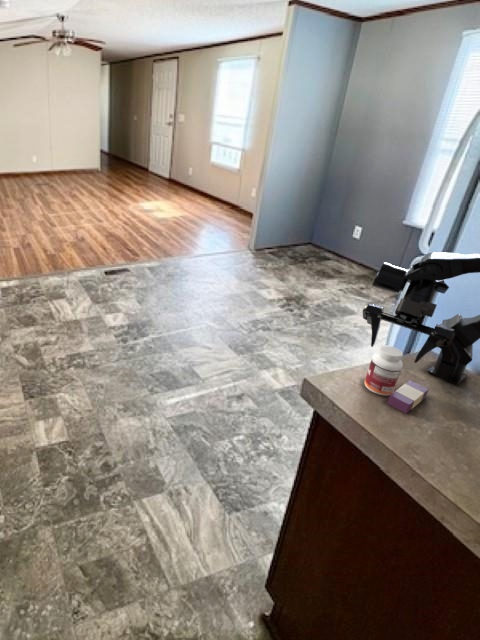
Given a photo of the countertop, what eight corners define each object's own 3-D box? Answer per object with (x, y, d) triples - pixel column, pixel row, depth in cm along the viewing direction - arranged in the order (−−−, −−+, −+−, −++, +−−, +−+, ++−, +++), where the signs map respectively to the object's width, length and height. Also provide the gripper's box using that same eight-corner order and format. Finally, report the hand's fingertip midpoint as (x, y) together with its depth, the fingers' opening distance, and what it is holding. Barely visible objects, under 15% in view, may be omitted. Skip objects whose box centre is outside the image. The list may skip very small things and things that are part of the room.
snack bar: (406, 388, 103) (409, 380, 102) (425, 397, 100) (428, 389, 99) (386, 403, 98) (390, 394, 97) (406, 413, 95) (409, 404, 94)
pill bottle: (369, 377, 107) (381, 340, 103) (397, 389, 103) (411, 351, 98) (359, 386, 104) (371, 349, 99) (387, 400, 99) (401, 361, 95)
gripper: (375, 274, 106) (350, 327, 103) (469, 299, 94) (443, 360, 91) (375, 292, 114) (351, 342, 112) (462, 318, 102) (438, 374, 100)
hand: (392, 354), depth 103 cm, fingers open, 9 cm apart
